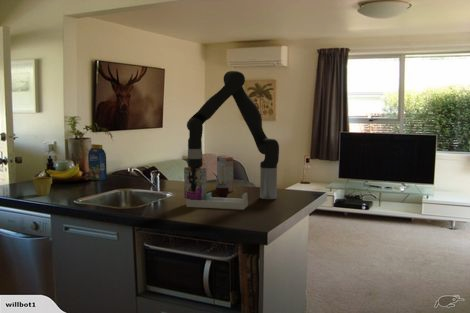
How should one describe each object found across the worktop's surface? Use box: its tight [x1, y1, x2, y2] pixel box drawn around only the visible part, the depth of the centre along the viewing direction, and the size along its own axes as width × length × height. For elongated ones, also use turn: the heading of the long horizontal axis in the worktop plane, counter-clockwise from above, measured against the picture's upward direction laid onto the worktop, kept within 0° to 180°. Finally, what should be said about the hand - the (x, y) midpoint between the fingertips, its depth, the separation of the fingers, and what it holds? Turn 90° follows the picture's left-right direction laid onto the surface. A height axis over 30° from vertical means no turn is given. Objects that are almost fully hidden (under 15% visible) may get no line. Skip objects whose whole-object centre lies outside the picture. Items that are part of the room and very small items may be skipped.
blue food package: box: [87, 143, 108, 182], centre depth 316 cm, size 6×12×25 cm, turn 56°
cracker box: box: [216, 155, 234, 193], centre depth 274 cm, size 14×6×21 cm, turn 22°
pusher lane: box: [185, 192, 249, 211], centre depth 229 cm, size 9×30×7 cm, turn 76°
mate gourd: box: [212, 171, 230, 198], centre depth 248 cm, size 8×8×15 cm
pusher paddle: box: [206, 192, 225, 201], centre depth 229 cm, size 7×9×5 cm
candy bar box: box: [183, 166, 208, 200], centre depth 231 cm, size 11×5×16 cm, turn 59°
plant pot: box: [32, 176, 53, 197], centre depth 261 cm, size 10×10×10 cm
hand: (195, 189), depth 231 cm, fingers closed on candy bar box, 6 cm apart
